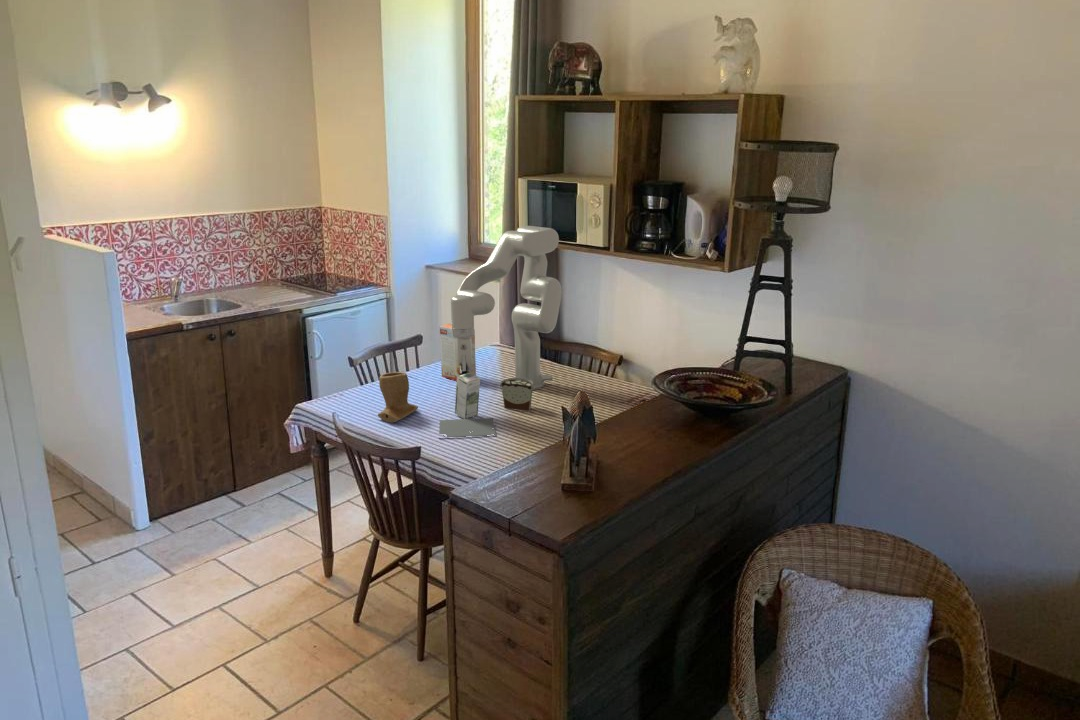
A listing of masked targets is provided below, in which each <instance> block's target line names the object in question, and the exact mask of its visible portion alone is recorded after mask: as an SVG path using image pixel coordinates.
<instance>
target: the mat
mask: <svg viewBox="0 0 1080 720" xmlns="http://www.w3.org/2000/svg"><path fill="white" fill-rule="evenodd" d="M492 428H494V429H492ZM438 429H439V431H438V434H446V435H447V437H466V436H487V435H491V434H494V435H496V429H495V421H494V417H486V418H485V417H483V418H468V419H463V418H462V419H461V418H460V419H459V418H458V419H456V418H455V419H440V420H439V428H438ZM469 431H470V432H471V433H470V432H469ZM472 431H473V432H472ZM443 436H444V435H443ZM496 436H497V435H496ZM444 437H445V436H444Z"/></svg>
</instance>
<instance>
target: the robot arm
mask: <svg viewBox="0 0 1080 720" xmlns="http://www.w3.org/2000/svg"><path fill="white" fill-rule="evenodd" d="M559 241H560V237H559V234H558V232H557V231H556V230H555V229H554V228H552V227H543V226H542V227H541V226H535V225H521V226H519V227H517V229H516V230H507V231H505V232H503V233H502V235H500V238H499V240H498V241H497V243H496V245H495V247H494V248H493V250H492V251H491V254H490V255H489V257H488V259H487V261H486V262H485V263H484V264H482V265H480V266H479V267H477V268H476V269H474V270H473V271H472V272H470V273H469V274H468V275H467V276H466V277H465V278H464V280H463V281H462V283H461V285H460V286H459V288H458V290H457V291H456V295H453V297H451V299H450V313H451V314H450V315H451V316H450V317H451V324H452V337H453V338H456V353H457V362H458V366H459V367H460V375H463V374H466V373H469V372H468V365H469V366H472V340H471V338H472V337H474V329H475V316H482V315H483V316H485V315H488V314H489V313H492V311H494V308H495V306H496V301H495V298H494V296H492V295H491V294H490V293H487V292H484V291H478V290H479V289H480V288H481V287H483V286H484V285H486V284H488V283H491V282H494V281H498V280H500V279H503V278H506V277H507V276H508V275H509V273H510V271H511V270H512V269H511V268H512V267H513V266H514V264H515V262H516V260H517V259H518V257H523V258H524V262H523V263H524V265H523V270H522V277H521V283H520V291H519V293H520V295H521V297H522V298H523V299H525V300H528V301H534V302H538V303H541V304H540V305H537V304H532V303H525V302H524V303H518V304H517V305H515V307H514V308H513V309H512V312H511V322H512V323H511V324H512V327H513V333H514V370H515V371H514V374H515V376H514V378H525V379H529V380H531V381H532V382H533V385H534V390H535V391H536V390H538V389H541V388H543V387H544V386H545V382H546V381H547V382H549V381H550V382H551V381H553V379H554V378H553V375H549V374H542V373H541V338H540V336H539V333H543V334H549V333H552V332H553V330H554V329H555V328H556V325H557V322H558V317H559V311H560V307H561V306H560V305H561V300H562V295H563V293H562V292H563V290H562V286H561V285H562V284H561V282H560V281H559V280H558V279H557V278H555V277H551V276H547V272H548V271H547V269H548V259H547V255H546V254H549V253H552V252H554V251H555V250H556V248H557V247H558V245H559ZM534 390H533V388H532V391H534Z"/></svg>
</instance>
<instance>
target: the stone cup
mask: <svg viewBox="0 0 1080 720" xmlns="http://www.w3.org/2000/svg"><path fill="white" fill-rule="evenodd" d="M378 379H379V380H378V382H379V384H378V385H379V389H380V392H381V393H382V397H383V399H384V403H385V408H384V409H383V410H382V411H380V412H379V413H378V414H377V417H378V418H380V419H381V420H383V421H385V422H386V423H387V422H388V423H396V422H398V421H400V420H402V419H404V418H406V417H408V416H409V415H411V414H413V413H415V412H416V411H417V410H418V409H419V406H417V405H414V404H411V403H409V402H408V397H409V391H410V384H409V383H410V382H409V381H410V380H409V377H408V374H407V373H406V372H404V371H394V372H393V371H392V372H387V373H384V374H381V375H380V376H379V378H378Z"/></svg>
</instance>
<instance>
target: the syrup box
mask: <svg viewBox="0 0 1080 720" xmlns="http://www.w3.org/2000/svg"><path fill="white" fill-rule="evenodd" d="M480 385H481V378H480V377H479V376H477V374H476V375H474V374H472V373H466V374H463V375H459V376H457V381H456V385H455V386H456V389H455V405H454V406H455V407H454V414H455V415H457V416H459V417H460V418H462V419H467V418H468V419H471V418H474V417H476V416H479V415H478V414H479V413H478V412H479V402H480V387H481V386H480ZM473 416H474V417H473ZM470 417H471V418H470Z"/></svg>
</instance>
